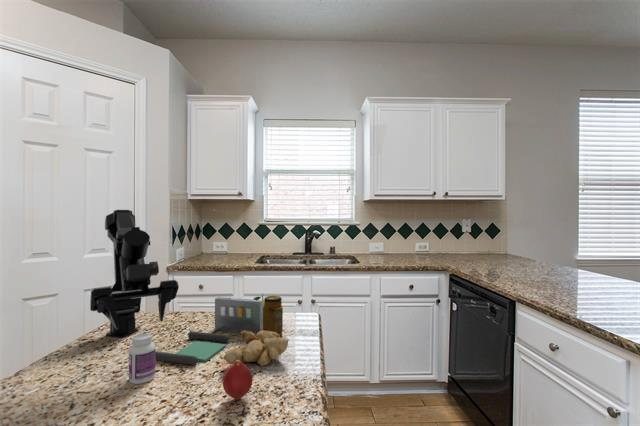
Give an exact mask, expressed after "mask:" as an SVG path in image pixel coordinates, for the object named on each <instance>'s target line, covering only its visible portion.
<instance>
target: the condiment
mask: <svg viewBox="0 0 640 426" xmlns="http://www.w3.org/2000/svg"><path fill="white" fill-rule="evenodd" d="M282 299H283V298H282V297H281V296H278V295H270V296H266V297H264V298H263V300H264V301H265V302H264V307H263V331H272V332H275V333H277V334H279V335H280V338H285V339H286V340H288V341H289V340H290V339H289V338H288V337H287V335H285V334H284V333H283V329H284V328H283V327H284V325H283V324H284V323H283V322H284V318H283V315H284V314H283V313H284V312H283V311H284V310H283V303H282Z"/></svg>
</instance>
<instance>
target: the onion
mask: <svg viewBox="0 0 640 426" xmlns="http://www.w3.org/2000/svg"><path fill="white" fill-rule="evenodd" d="M234 363H235V364H231V366H229V368H227V370H226V372H225V374H224V376H223V379H222V386H223V387H222V388H223V390H224V392H225V394H226V395H227V396H228V397H231V398H232V399H233V400H235V401H239V400H241V399H242V398H243V397H244V396H245V395H247V394H248V393H249V392H250V390H251V388H252V385H253V375H252V372H251V370H250V368H249V367H248V366H247V364H244V362H242V363H241V361H240V360H236V361H235V362H234Z"/></svg>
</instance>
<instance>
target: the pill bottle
mask: <svg viewBox="0 0 640 426" xmlns="http://www.w3.org/2000/svg"><path fill="white" fill-rule="evenodd" d="M152 341H153V334H152V333H146V332H145V333H138V334H136V335H134V336H133V337H132V339H131V344H132V346H130V348H129V351H128V381H129V382H130V383H131V384H132V385H133V384H134V385H139V384H140V385H141V384H145V383H148V382H150V381H151V380H153V379H154V378H155V377H156V365H157V364H156V360H155V359H156V351H157V350H156V348H157V347H156V344H155V343H154V342H152Z"/></svg>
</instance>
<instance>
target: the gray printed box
mask: <svg viewBox="0 0 640 426" xmlns="http://www.w3.org/2000/svg"><path fill="white" fill-rule="evenodd" d="M263 300H264V299H263ZM263 300H262V299H259V300H253V299H250V298H249V299H248V298H236V297H235V298H234V297H220V296H218V297H216V298H214V330H218V331H228V332H237V333H241V332H242V331H244V330H245V331H248V332H252V333H254V334H255V335H257V333H258V332H260V331H263Z"/></svg>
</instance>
